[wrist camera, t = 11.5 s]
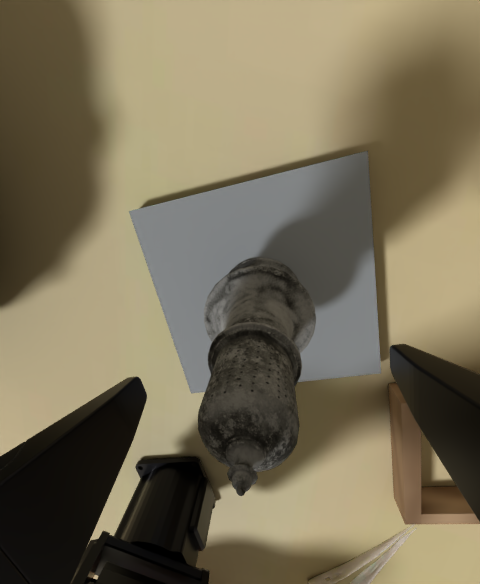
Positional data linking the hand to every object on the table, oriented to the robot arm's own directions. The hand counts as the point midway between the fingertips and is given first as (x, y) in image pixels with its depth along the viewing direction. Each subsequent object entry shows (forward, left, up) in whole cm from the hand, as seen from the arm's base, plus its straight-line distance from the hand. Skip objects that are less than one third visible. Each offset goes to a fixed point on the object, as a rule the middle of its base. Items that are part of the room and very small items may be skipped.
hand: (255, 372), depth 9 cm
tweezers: (+6, -30, -10) cm, 32 cm away
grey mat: (0, 0, -9) cm, 9 cm away
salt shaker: (0, 0, -8) cm, 8 cm away
